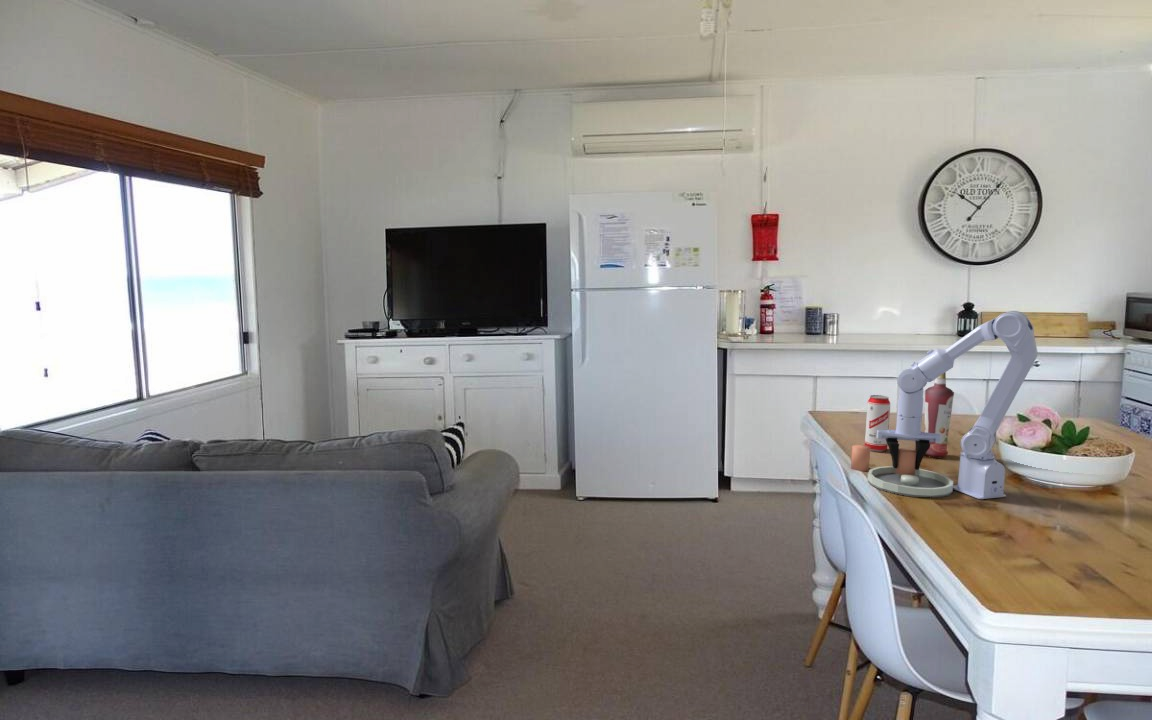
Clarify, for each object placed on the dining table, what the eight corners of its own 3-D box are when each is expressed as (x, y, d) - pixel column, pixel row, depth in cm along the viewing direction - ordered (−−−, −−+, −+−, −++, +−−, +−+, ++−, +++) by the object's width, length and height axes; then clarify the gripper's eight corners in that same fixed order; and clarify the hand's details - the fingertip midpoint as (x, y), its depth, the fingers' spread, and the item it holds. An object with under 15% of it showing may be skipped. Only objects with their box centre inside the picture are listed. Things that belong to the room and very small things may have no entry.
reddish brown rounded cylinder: (872, 470, 191) (874, 448, 190) (858, 471, 190) (859, 449, 189) (861, 465, 196) (862, 444, 195) (847, 467, 194) (848, 445, 193)
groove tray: (970, 494, 172) (971, 485, 171) (905, 500, 166) (905, 491, 166) (912, 472, 190) (913, 464, 190) (851, 477, 184) (852, 469, 184)
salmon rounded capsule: (918, 475, 182) (920, 452, 181) (903, 476, 180) (905, 453, 180) (906, 470, 186) (907, 447, 185) (891, 471, 185) (893, 448, 184)
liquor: (941, 460, 202) (949, 361, 198) (915, 455, 207) (923, 358, 204) (953, 456, 206) (961, 359, 203) (927, 451, 212) (934, 357, 208)
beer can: (889, 453, 209) (893, 399, 207) (866, 451, 211) (870, 398, 209) (884, 447, 215) (888, 395, 213) (862, 446, 217) (865, 394, 215)
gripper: (936, 414, 183) (932, 465, 185) (876, 410, 187) (872, 461, 188) (944, 419, 176) (939, 473, 178) (880, 416, 180) (877, 469, 182)
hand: (905, 468), depth 183 cm, fingers closed on salmon rounded capsule, 4 cm apart
